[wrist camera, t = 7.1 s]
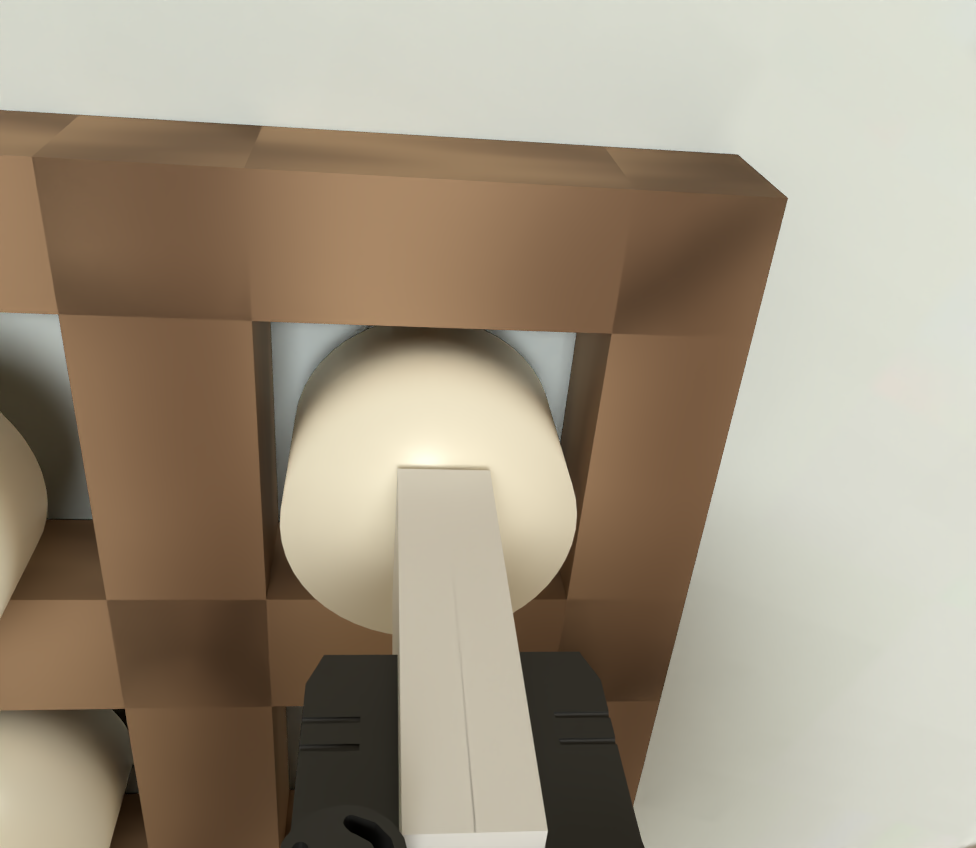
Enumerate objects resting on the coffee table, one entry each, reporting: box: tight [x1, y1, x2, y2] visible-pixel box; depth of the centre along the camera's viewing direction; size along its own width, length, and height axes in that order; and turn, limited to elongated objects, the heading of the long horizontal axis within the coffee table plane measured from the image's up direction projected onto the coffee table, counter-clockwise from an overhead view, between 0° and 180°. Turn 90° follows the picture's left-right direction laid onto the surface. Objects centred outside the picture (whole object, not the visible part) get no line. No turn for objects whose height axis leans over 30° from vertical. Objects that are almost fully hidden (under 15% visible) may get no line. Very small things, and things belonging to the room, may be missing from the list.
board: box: [0, 110, 788, 848], centre depth 20 cm, size 20×20×2 cm
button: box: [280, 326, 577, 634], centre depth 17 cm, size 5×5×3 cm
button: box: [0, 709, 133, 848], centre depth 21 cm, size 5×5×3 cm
